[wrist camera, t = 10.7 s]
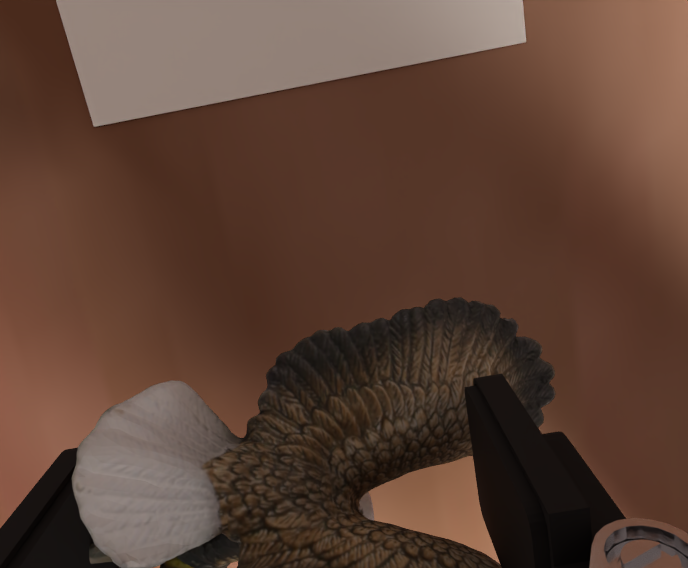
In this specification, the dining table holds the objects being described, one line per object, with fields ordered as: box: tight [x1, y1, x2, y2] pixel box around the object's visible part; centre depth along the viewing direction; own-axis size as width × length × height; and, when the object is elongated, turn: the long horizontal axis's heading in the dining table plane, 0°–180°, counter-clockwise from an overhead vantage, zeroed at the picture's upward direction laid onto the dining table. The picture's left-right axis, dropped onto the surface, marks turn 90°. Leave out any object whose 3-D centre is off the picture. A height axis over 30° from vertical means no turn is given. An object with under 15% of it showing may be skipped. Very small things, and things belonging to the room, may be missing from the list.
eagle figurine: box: [72, 297, 555, 568], centre depth 11 cm, size 8×7×9 cm
